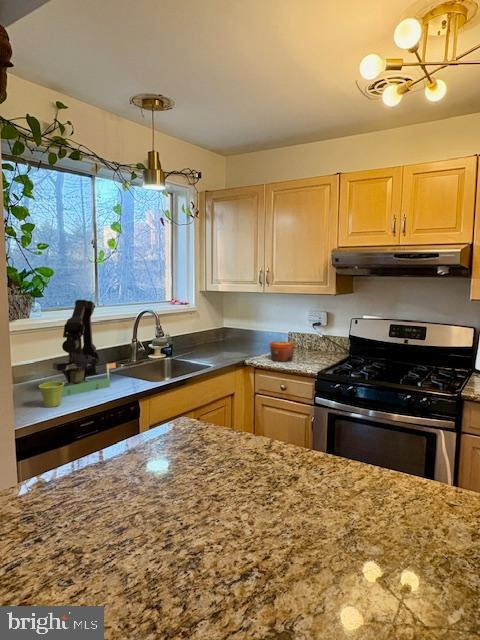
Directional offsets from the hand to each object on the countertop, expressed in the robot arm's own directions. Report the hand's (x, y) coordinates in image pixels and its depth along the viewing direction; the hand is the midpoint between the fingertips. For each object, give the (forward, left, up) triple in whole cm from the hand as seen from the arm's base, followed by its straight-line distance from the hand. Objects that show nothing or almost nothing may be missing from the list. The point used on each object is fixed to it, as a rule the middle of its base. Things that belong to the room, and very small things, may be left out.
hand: (76, 381), depth 192 cm
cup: (0, 0, -2) cm, 2 cm away
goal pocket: (+1, +2, -4) cm, 4 cm away
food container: (+25, +119, -4) cm, 122 cm away
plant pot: (+16, -17, -4) cm, 24 cm away
